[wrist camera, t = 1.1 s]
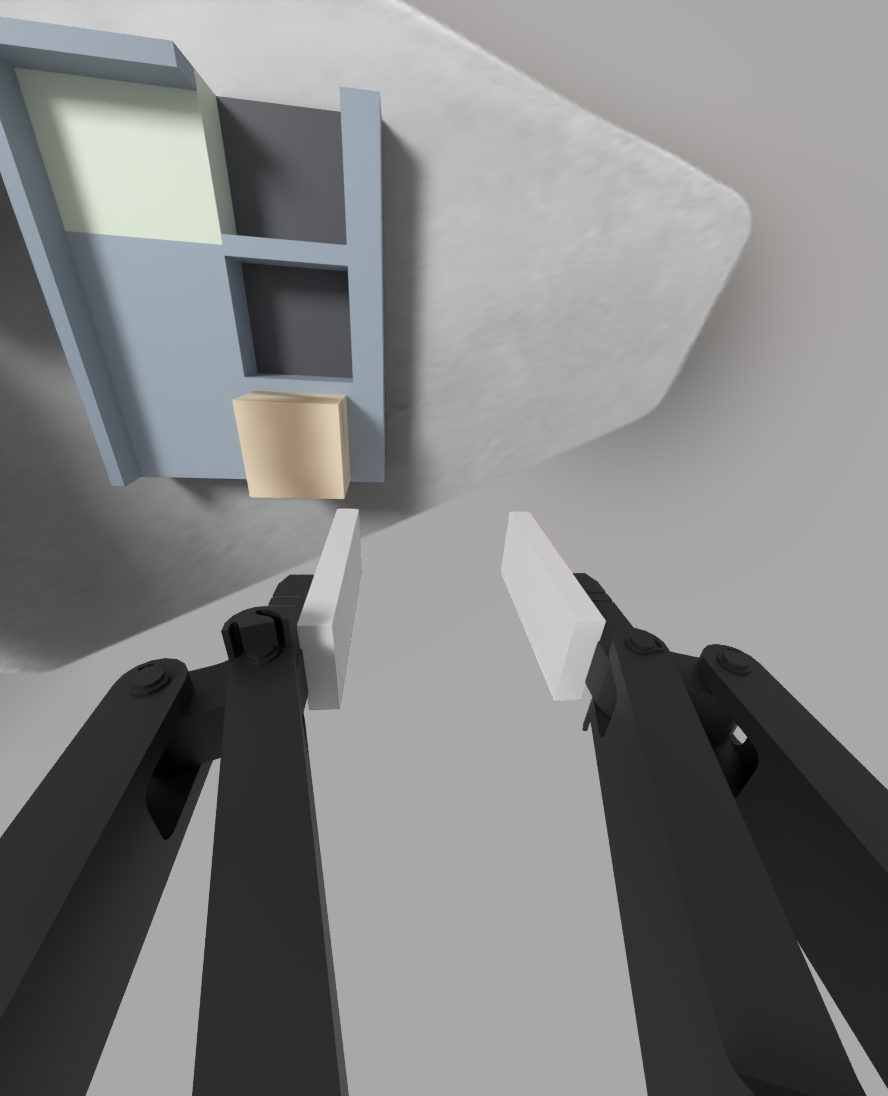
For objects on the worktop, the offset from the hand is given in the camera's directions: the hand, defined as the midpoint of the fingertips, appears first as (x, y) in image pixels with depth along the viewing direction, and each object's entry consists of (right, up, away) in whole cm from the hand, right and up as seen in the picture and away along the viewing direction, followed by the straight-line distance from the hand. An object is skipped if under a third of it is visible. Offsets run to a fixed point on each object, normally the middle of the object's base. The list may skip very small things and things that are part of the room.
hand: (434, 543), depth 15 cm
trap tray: (-13, +16, +12) cm, 23 cm away
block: (-10, +8, +13) cm, 18 cm away
